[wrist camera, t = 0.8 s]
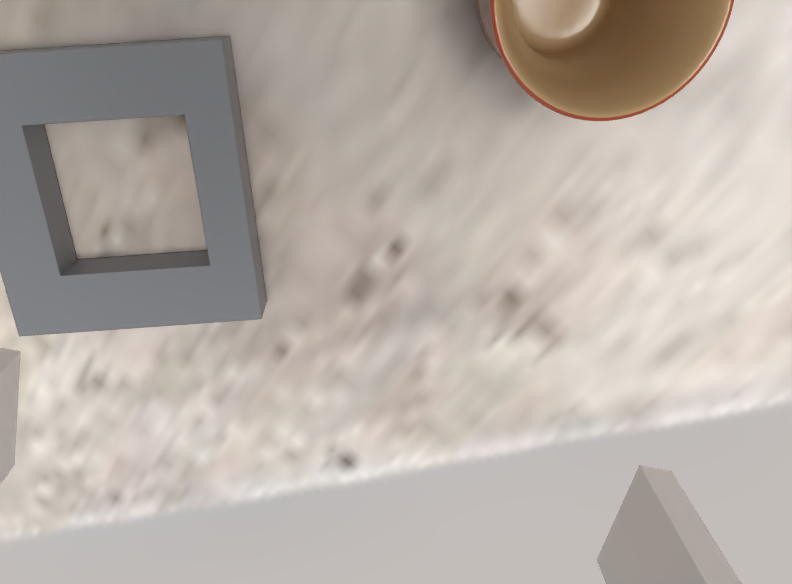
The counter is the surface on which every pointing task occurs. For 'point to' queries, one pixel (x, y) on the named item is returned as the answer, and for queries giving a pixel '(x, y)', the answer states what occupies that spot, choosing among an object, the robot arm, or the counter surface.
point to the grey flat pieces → (44, 210)
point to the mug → (603, 50)
